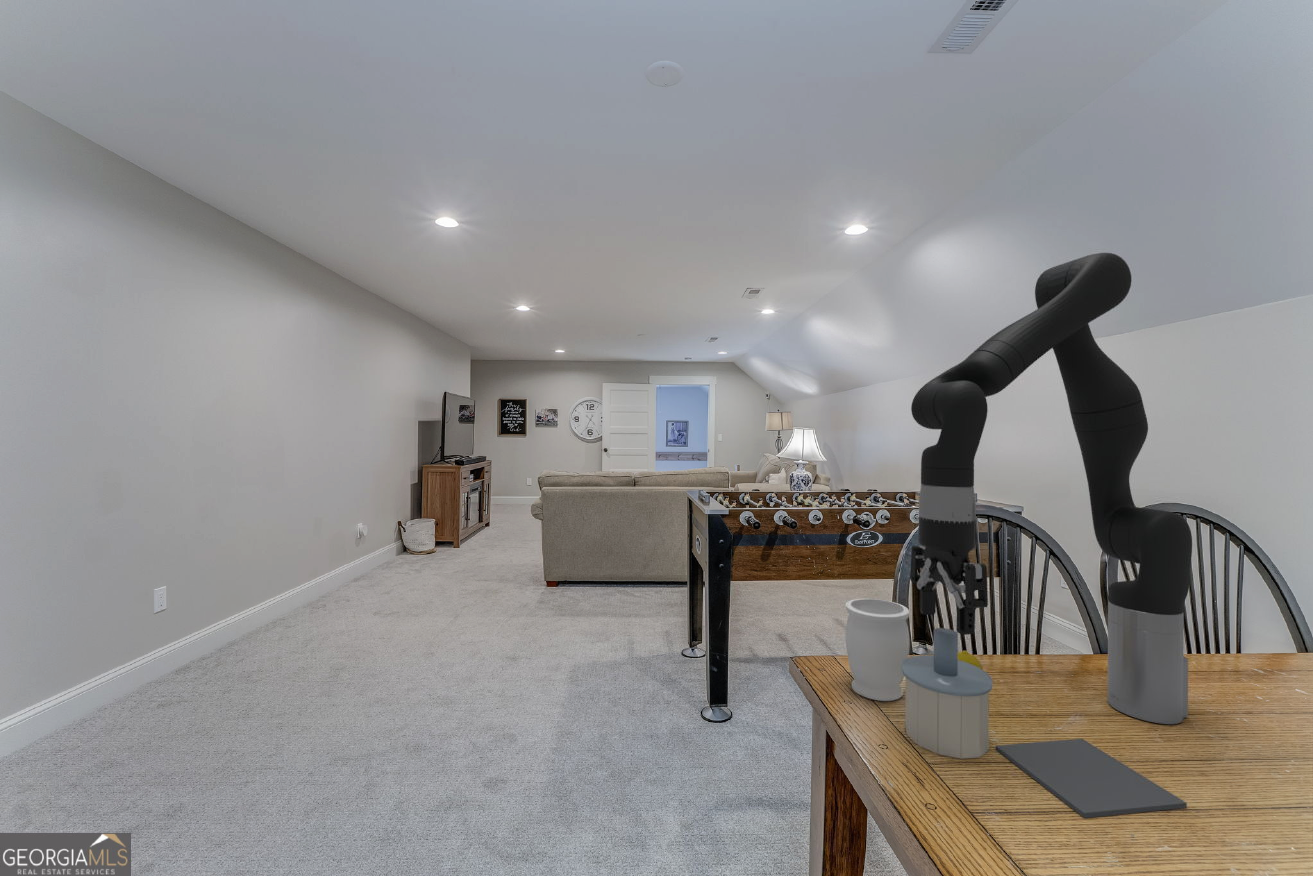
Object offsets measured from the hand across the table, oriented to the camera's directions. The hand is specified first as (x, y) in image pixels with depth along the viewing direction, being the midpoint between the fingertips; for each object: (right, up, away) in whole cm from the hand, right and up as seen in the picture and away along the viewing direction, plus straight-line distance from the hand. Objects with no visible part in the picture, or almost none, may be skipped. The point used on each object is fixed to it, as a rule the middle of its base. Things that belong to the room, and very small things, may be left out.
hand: (945, 623), depth 81 cm
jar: (-4, -17, +15) cm, 23 cm away
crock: (0, -17, 0) cm, 17 cm away
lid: (0, -8, 0) cm, 8 cm away
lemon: (+10, -17, +12) cm, 24 cm away
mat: (+13, -17, -9) cm, 24 cm away
